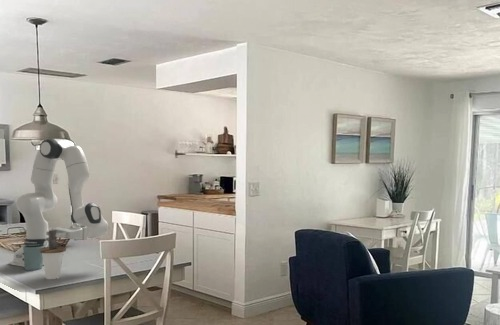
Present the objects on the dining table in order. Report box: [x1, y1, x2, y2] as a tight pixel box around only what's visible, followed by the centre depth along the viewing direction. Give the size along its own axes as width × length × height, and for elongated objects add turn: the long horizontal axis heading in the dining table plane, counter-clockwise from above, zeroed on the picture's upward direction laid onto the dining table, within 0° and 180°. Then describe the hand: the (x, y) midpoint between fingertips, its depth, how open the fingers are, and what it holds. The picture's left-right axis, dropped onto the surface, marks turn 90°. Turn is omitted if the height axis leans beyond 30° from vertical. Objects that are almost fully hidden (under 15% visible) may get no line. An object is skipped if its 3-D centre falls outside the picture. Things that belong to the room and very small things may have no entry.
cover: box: [39, 229, 67, 253], centre depth 235 cm, size 12×12×10 cm
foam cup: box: [42, 252, 64, 280], centre depth 235 cm, size 10×9×13 cm
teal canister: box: [22, 244, 44, 272], centre depth 254 cm, size 10×10×12 cm
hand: (51, 234), depth 234 cm, fingers open, 8 cm apart
